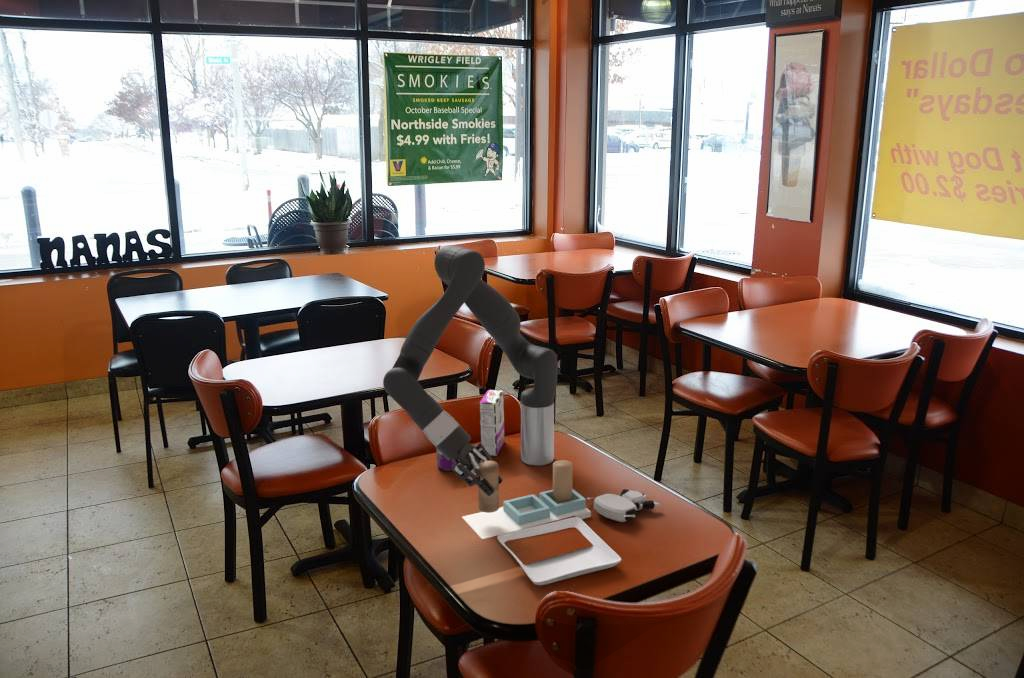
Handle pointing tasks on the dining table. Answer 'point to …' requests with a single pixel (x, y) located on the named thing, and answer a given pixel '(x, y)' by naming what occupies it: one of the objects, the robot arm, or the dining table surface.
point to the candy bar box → (492, 421)
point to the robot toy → (622, 505)
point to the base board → (533, 507)
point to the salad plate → (568, 562)
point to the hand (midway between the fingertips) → (495, 488)
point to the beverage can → (445, 462)
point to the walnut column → (491, 475)
